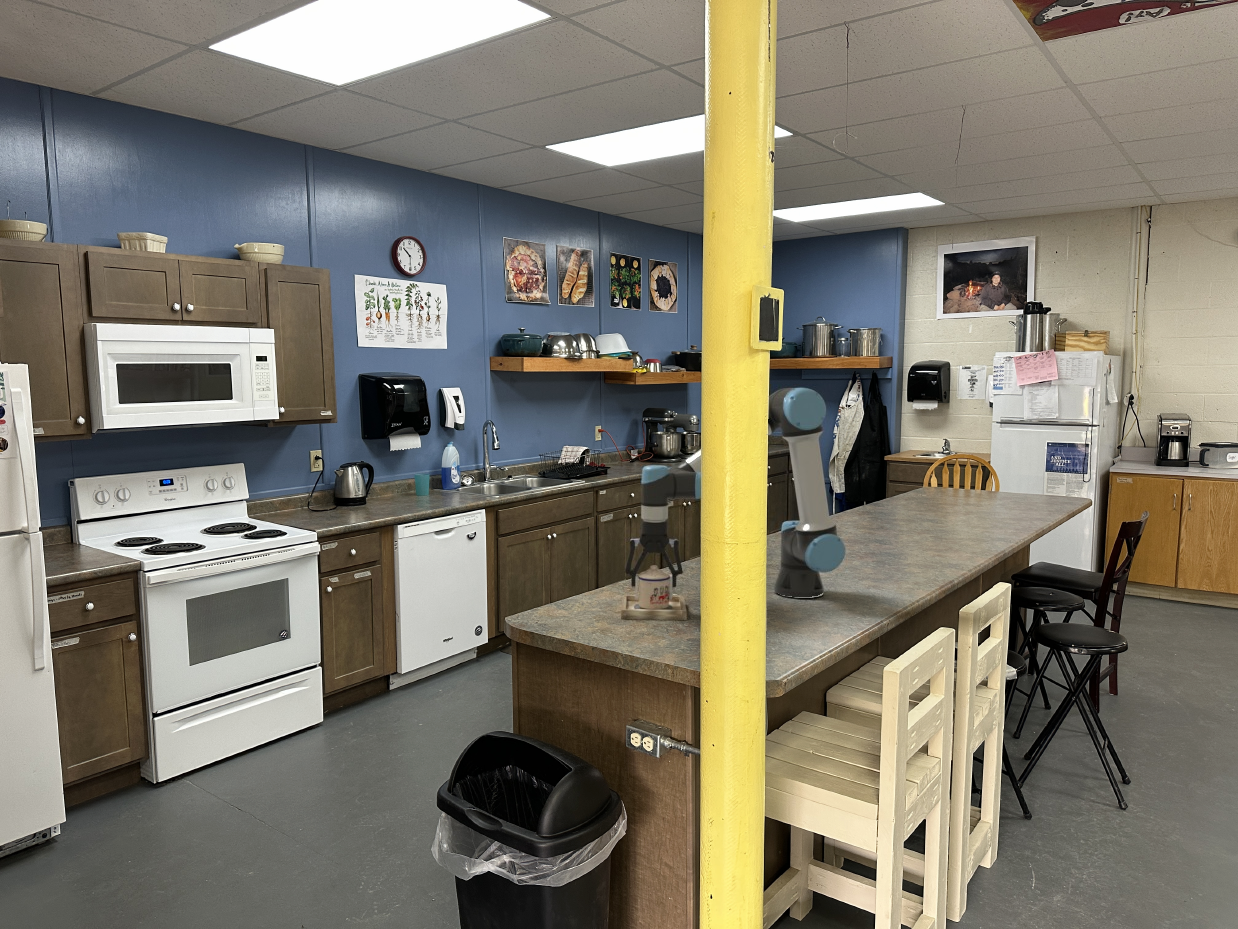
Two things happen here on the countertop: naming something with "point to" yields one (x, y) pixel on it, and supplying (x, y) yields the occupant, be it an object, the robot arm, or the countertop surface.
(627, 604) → the birch tray
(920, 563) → the countertop surface
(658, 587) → the teacup with lid
